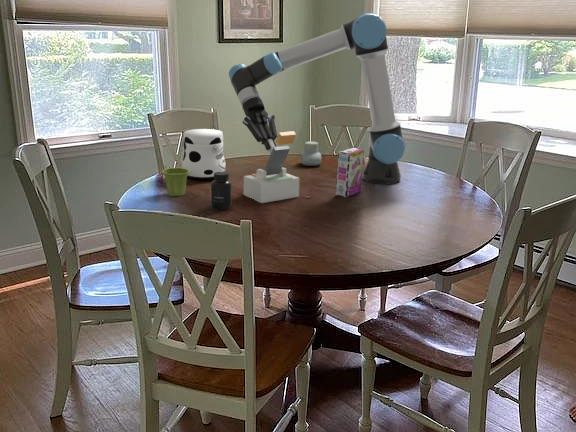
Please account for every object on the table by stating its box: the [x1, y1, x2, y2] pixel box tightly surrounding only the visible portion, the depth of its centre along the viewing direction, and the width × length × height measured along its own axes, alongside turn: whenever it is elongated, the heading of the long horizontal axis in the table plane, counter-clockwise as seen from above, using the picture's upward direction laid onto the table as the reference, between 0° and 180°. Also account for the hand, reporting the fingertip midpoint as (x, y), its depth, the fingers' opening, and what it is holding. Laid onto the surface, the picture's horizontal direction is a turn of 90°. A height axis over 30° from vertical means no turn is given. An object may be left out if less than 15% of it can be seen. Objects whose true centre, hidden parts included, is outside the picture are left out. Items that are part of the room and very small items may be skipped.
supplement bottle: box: [210, 171, 232, 211], centre depth 198 cm, size 7×7×12 cm
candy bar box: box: [335, 147, 365, 198], centre depth 217 cm, size 11×5×16 cm, turn 145°
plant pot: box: [162, 167, 189, 197], centre depth 213 cm, size 9×9×9 cm
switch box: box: [243, 167, 300, 204], centre depth 213 cm, size 12×16×10 cm
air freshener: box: [300, 141, 322, 167], centre depth 262 cm, size 11×8×10 cm
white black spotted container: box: [181, 128, 226, 180], centre depth 236 cm, size 17×17×18 cm
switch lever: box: [264, 130, 297, 175], centre depth 206 cm, size 2×6×19 cm
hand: (275, 156), depth 208 cm, fingers closed
